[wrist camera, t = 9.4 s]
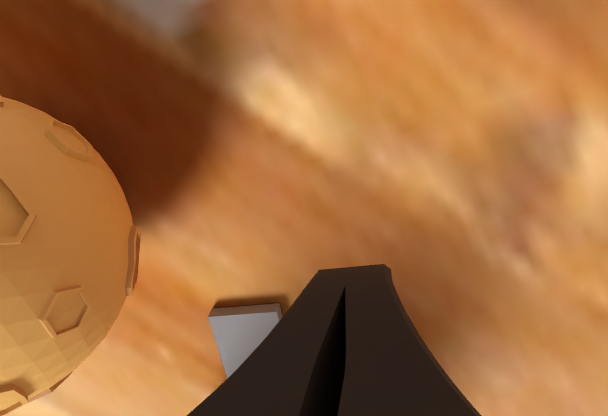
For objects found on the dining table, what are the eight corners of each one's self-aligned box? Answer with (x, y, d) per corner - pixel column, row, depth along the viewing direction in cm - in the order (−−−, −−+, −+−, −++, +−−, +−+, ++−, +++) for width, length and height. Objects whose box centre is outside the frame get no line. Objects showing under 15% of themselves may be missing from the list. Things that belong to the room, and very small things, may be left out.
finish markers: (124, -326, 13) (113, -339, 13) (297, 376, 23) (295, 386, 22) (25, -291, 14) (12, -302, 13) (234, 379, 23) (231, 389, 23)
